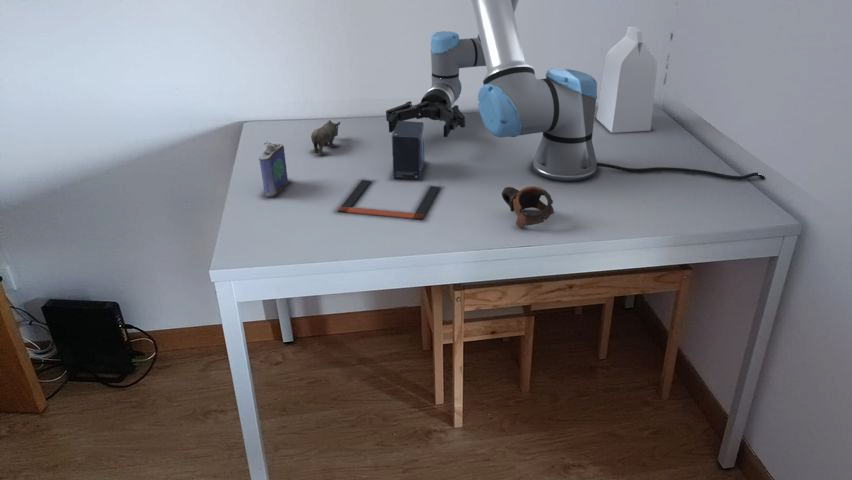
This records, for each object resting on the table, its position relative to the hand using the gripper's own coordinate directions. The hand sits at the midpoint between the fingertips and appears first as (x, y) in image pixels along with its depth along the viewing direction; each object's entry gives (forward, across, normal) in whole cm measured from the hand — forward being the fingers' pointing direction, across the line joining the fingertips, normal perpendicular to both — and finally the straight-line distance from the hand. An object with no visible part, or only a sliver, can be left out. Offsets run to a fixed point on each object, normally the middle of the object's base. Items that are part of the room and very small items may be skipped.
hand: (417, 129), depth 167 cm
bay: (+25, 0, -7) cm, 26 cm away
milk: (-36, -50, -7) cm, 62 cm away
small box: (+9, 0, -7) cm, 11 cm away
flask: (+25, +26, -7) cm, 37 cm away
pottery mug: (+28, -30, -7) cm, 41 cm away
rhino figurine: (-2, +24, -7) cm, 25 cm away
